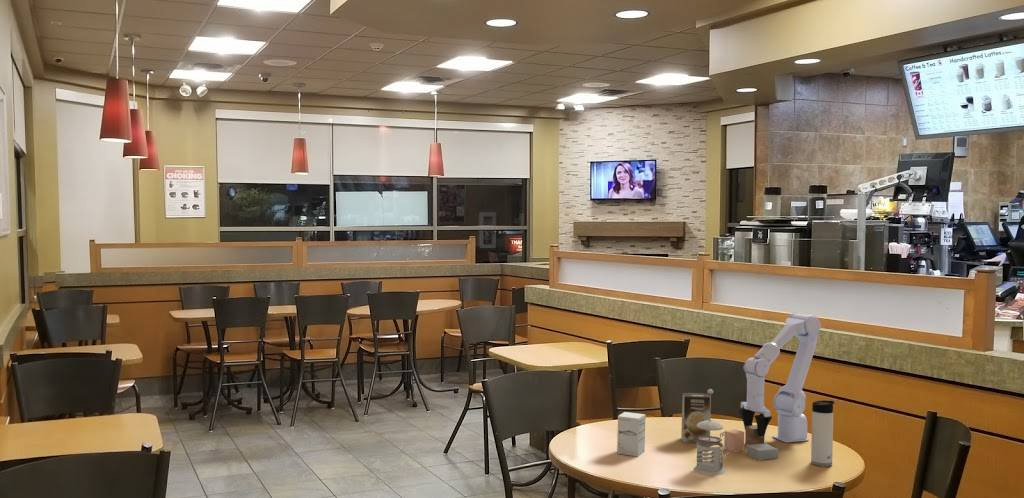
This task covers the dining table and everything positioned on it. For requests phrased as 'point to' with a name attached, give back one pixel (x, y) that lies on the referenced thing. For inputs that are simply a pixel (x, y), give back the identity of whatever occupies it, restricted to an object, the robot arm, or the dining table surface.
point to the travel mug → (822, 433)
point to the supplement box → (631, 434)
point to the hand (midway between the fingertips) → (754, 433)
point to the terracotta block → (734, 440)
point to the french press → (710, 448)
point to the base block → (762, 451)
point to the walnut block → (753, 435)
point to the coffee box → (694, 416)
